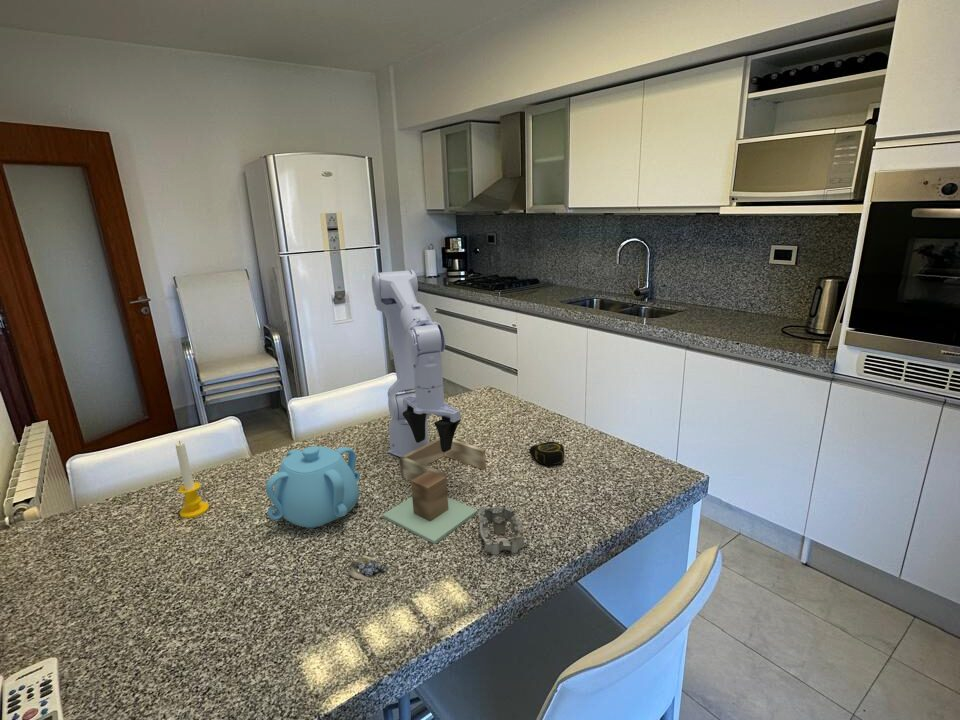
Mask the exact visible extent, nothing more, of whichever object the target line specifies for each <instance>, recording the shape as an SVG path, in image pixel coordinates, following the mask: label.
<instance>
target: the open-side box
mask: <svg viewBox="0 0 960 720" xmlns="http://www.w3.org/2000/svg"><path fill="white" fill-rule="evenodd" d="M444 456H445V457H447V458H450V459H453V460H455V461H458V462H461V463H464V464H467V465H470V466H471V467H472V466H473V467H474V468H478V469H481V470H484V469H486V468H487V463H486V460H487V459H486V449H485V448H481V447H478V446H474V445H472V444H469V443H466V442H462V441H459V440H457V439H454V438H453V441H452V446H451V449H450V450H448V451H447V452H442V450H441V445H440V437H438V438H436V439H434V440H432V441H429V443H428V444H426V445H424V446H422V447H420V448H418V449H416V450H414V451H412V452H410V453H408V454H406V455H404V456H402V457H399V458H398V459H399V460H398V461H399V469H400V477H401V478H404V479H405V480H409V481H410V482H411V481H412V480H414V479H415V478H417V477H419V476H421V475H422V474H424V473H426V472H428V471H432V472H435V473H437V474H440V475H442V476H445V477H447V473H446V472H444V471H441V470H440V469H437V468H434V467H431V466H429V464H432V463H433V462H436V461H437V460H439V459H441V458H442V457H444Z"/></svg>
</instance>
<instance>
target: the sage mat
mask: <svg viewBox="0 0 960 720" xmlns="http://www.w3.org/2000/svg"><path fill="white" fill-rule="evenodd" d="M448 508H449V509H448V510H447V511H445V512H444V513H442V514H441V515H439V516H438V517H436V518H435V519H433V520H432V521H428V520H426V519H424V518H422V517H420V516H418V515H416V514H414V512H413V500H412V496H411V497H409V498H408V499H405V500H404V501H402V502H401V503H399V504H397V505H395V506H394V507H393V508H391V509H389V510H387V511H385V512H384V513H382V515H381V517H382V518H383V519H385V520H387V521H389V522H390V523H393V524H395V525H396V526H399V527H401V528H402V529H403V530H406V531H409V532H410V533H412V534H414V535H416V536H418V537H420V538H422V539H424V540H426V541H428V542H429V543H431V544H434V545H435V544H437V543H438V542H440V541H441V540H443V539H444V538H445V537H447V536H448V535H449V534H451V533H452V532H453V531H455V530H456V529H458V528H459V527H461V526H462V525H463V524H464V523H466V522H467V521H468V520H470V519H472V518H473V517H474V516H475V515H477V514H479V510H478V509H477V508H474V507H472V506H469V505H467V504H465V503H462V502H459V501H458V500H455V499H453V498H451V497H448Z"/></svg>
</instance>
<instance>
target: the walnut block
mask: <svg viewBox="0 0 960 720" xmlns="http://www.w3.org/2000/svg"><path fill="white" fill-rule="evenodd" d="M447 478H448V477H447V476H446V477H445V476H442V475H440V474H437V473H435V472H432V471H428V472H426V473H424V474H422V475H421V476H419V477H417V478H415V479H414V480H412V481H411V480H410V485H411V486H410V487H411V497H412V500H413V512H414V514H416V515H418V516H420V517H422V518H424V519H426V520H428V521H432V520H433V519H435V518H436V517H438V516H439V515H441V514H442V513H444V512H445V511H447V510H448V509H449V508H448V498H449V494H448V479H447Z"/></svg>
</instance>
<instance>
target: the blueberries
mask: <svg viewBox="0 0 960 720" xmlns="http://www.w3.org/2000/svg"><path fill="white" fill-rule="evenodd" d="M382 560H384V558H381V559H380V558H379V555H377V556H374V555H373V554H367V555H362V556H360V557H359V558H358V559H355V560H352V561H351V565H349V568H350V570H349V571H347V575H348V576H351V577H352V578H354V579H357V580H360V581H361V582H364V581H366V582H368V581H369V580H370V579H373V578H375V577H377V576H378V575H383V574H385V573H386V572H387V571H388V570H389V567H388V566H385V565H384V566H383V565H382V564H381V562H376V561H382Z"/></svg>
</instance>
